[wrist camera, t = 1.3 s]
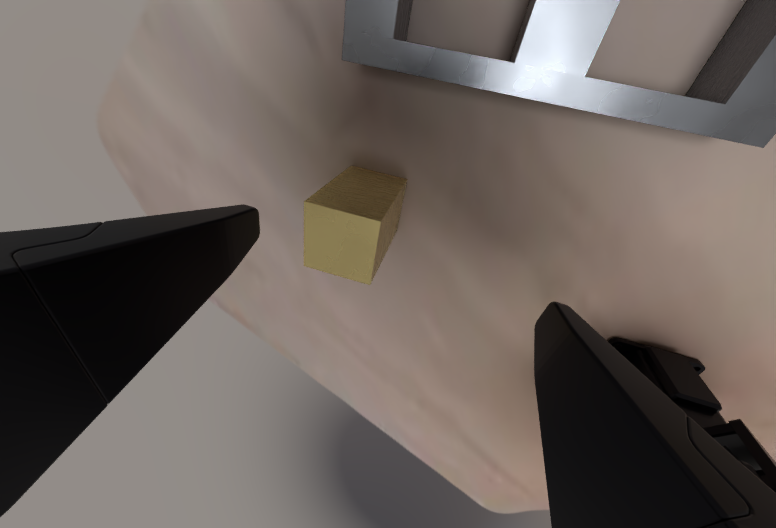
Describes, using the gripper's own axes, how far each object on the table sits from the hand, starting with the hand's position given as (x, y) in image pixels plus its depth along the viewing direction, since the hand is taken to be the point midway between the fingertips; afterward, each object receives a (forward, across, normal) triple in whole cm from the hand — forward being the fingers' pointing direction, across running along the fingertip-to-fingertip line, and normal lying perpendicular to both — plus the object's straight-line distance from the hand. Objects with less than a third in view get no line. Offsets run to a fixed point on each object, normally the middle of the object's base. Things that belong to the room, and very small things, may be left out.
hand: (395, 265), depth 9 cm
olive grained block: (+12, +4, +4) cm, 13 cm away
